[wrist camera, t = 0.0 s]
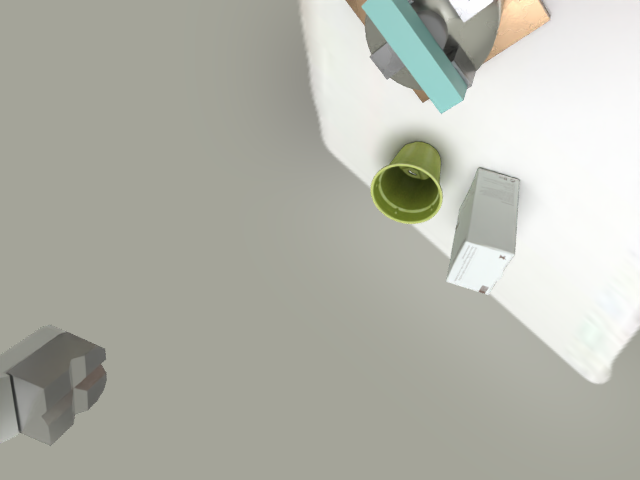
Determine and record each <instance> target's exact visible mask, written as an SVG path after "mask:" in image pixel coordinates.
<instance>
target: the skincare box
mask: <svg viewBox="0 0 640 480" xmlns="http://www.w3.org/2000/svg"><path fill="white" fill-rule="evenodd" d="M519 183H520V180H518V179H515V178H512V177H508V176H505V175H502V174H498V173H496V172H492V171H489V170H486V169H483V168H478V170H477V172H476V176H475V178H474V181H473V183H472V185H471V188H470V190H469V192H468V194H467V196H466V198H465V200H464V202H463V204H462V205H461V207H460V210H459V215H458V220H457V225H456V231H455V236H454V241H453V246H452V252H451V259H450V264H449V268H448V274H447V278H446V281H447V282H449V283H452V284H455V285H458V286H462V287H465V288H468V289H472V290H475V291H478V292H481V293H484V294H488V295H489V294H490V292H491V290H492V289H493V287H494V285H495V284H496V282H497V281H498V280H499V279H500V278H501V277H502V275H503V271H504V270H505V268H506V266H507V265H508V263H509V262H510V261H511V260H512V258H513V257H514V256H515V246H516V230H517V215H518V199H519Z"/></svg>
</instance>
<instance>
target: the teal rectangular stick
mask: <svg viewBox="0 0 640 480" xmlns="http://www.w3.org/2000/svg"><path fill="white" fill-rule="evenodd" d="M361 7H362V8H363V10H364V11H365V12H366V14H367V15H368V16H369V18H370V19H371V20H372V22H373V23H374V24H375V26H376V27H377V28H378V30H379V31H380V32H381V34H382V35H383V36H384V38H385V39H386V41H387V42H388V43H389V45H390V46H391V47H392V49H393V50H394V51H395V53H396V54H397V55H398V57H399V58H400V59H401V61H402V62H403V63H404V65H405V66H406V67H407V69H408V70H409V71H410V73H411V74H412V75H413V77H414V78H415V80H416V81H417V82H418V84H419V85H420V86H421V88H422V89H423V90H424V92H425V93H426V94H427V96H428V97H429V98H430V100H431V101H432V102H433V104H434V105H435V106H436V108H437V109H438V110H439V112H440V113H441V114H442V113H443V112H445V111H447V110H448V109H450V108H451V107H453V106H455V105H456V104H458V103H460V102H461V101H463V100H464V96H465V93H466V90H467V85H466V83H465V82H464V80H463V79H462V78H461V76H460V75H459V73H458V72H457V70H456V69H455V68H454V66H453V65H452V63H451V62H450V60H449V59H448V58H447V56H446V55H445V53H444V52H443V49H444V47H445V44H446V42H447V38H448V28H447V25H446V22H445V21H444V19H443V18H442V17H441V16H440V15H439V14H437V13H435V12H433V11H429V10H422V11H418V12H415V11H414V9H413V8H412V6H411V5H410V3H409V2H408V1H407V0H367V1H366V2H365V3H364V4H363V5H362V6H361Z"/></svg>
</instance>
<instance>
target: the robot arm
mask: <svg viewBox="0 0 640 480" xmlns="http://www.w3.org/2000/svg"><path fill="white" fill-rule="evenodd" d="M104 360H106V353H105V349H104V348H102V347H100V346H98V345H96V344H93V343H91V342H89V341H87V340H85V339H82V338H80V337H78V336H75V335H73V334H71V333H69V332H66V331H64V330H62V329H59V328H57V327H55V326H52V325H48V326H43V327H41V328H40V329H38V330H37V331H36V332H34V333H32V334H31V335H29V336H28V337H26V338H25V339H23V340H22V341H20V342H19V343H17V344H16V345H14V346H13V347H11V348H10V349H8V350H7V351H5V352H4V353H2V354H1V355H0V443H2V442H4V441H6V440H8V439H11V438H13V437H15V436H17V435H19V432H20V433H22V434H24V435H27V436H29V437H31V438H34V439H36V440H38V441H41V442H43V443H45V444H48V445H50V446H51V445H52V444H53V443H54V442H55V441H56V440H57V439H58V438H60V437H61V436H62V435H63V433H65V432H66V431H67V430H68V429H69V428H70V427H71V426H72V425H73V424H74V419H75V414H78V413H81V412H84V411H87V410H89V409H90V407H92V406H93V404H95V403H96V402H97V400H98V399H99V397H100V395H101V394H102V392H103V390H104V388H105V384H106V380H107V378H106V371H105V370H104V368H103V366H102V365H101V363H102V362H104Z"/></svg>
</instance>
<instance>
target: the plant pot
mask: <svg viewBox="0 0 640 480" xmlns="http://www.w3.org/2000/svg"><path fill="white" fill-rule="evenodd" d="M440 168H441V159H440V156H439V154H438V152H437V150H436V149H435V148H434V147H432V146H431V145H429V144H427V143H424V142H414V143H410V144H407V145H405V146H404V147H403V148H402V149H401V150H400V151H399V153H398V154H397V155H396V157H395V158H394V159H393V161H392V162H391V163H390V164H389V165H388V166H385V167H384V168H382V169H381V170H380V171H378V172H377V174H376V175H375V176H374V178H373V180H372V183H371V197H372V199H373V202H374V204H375V205H376V207H377V208H378V209H379V210H380V211H381V212H382V213H383V214H384V215H385V216H387V217H388V218H390V219H392V220H395V221H397V222H401V223H407V224H416V223H421V222H425V221H427V220H429V219H431V218H432V217H434V216H435V215H436V214H437V212H438V211H439V209H440V207H441V205H442V199H443V194H442V189H441V186H440V184H439V181H440ZM408 171H411V172H412V173H414V174H417V175H413V174H411V173H409V172H408Z"/></svg>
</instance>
